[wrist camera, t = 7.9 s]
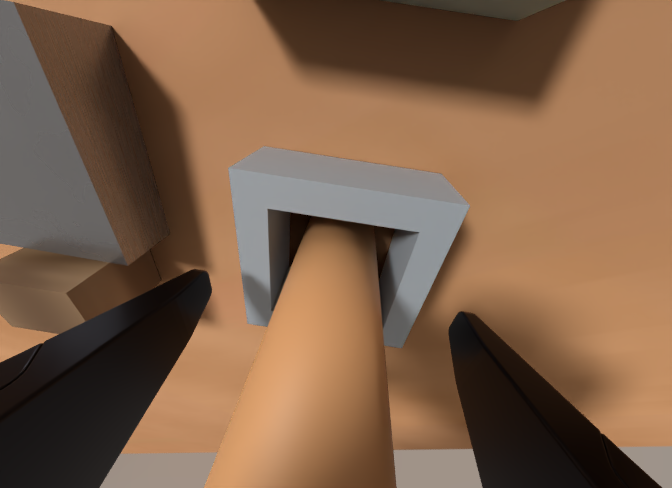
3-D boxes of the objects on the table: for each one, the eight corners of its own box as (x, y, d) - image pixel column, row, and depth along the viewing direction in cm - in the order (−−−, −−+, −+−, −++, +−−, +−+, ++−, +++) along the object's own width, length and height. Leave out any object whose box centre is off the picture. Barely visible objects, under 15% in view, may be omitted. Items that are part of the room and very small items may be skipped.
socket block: (441, 173, 9) (470, 205, 7) (394, 298, 13) (401, 348, 11) (263, 146, 9) (228, 167, 7) (269, 278, 13) (247, 323, 11)
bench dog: (145, 238, 12) (66, 293, 9) (161, 280, 14) (99, 340, 11) (69, 225, 12) (-38, 276, 9) (94, 269, 14) (12, 326, 11)
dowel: (381, 210, 10) (461, 703, 2) (367, 266, 12) (377, 655, 4) (308, 198, 10) (98, 642, 2) (304, 256, 12) (181, 622, 4)
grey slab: (121, 28, 8) (13, 1, 6) (174, 230, 13) (128, 265, 10) (-115, -14, 8) (-328, -59, 6) (22, 203, 12) (-62, 232, 10)
